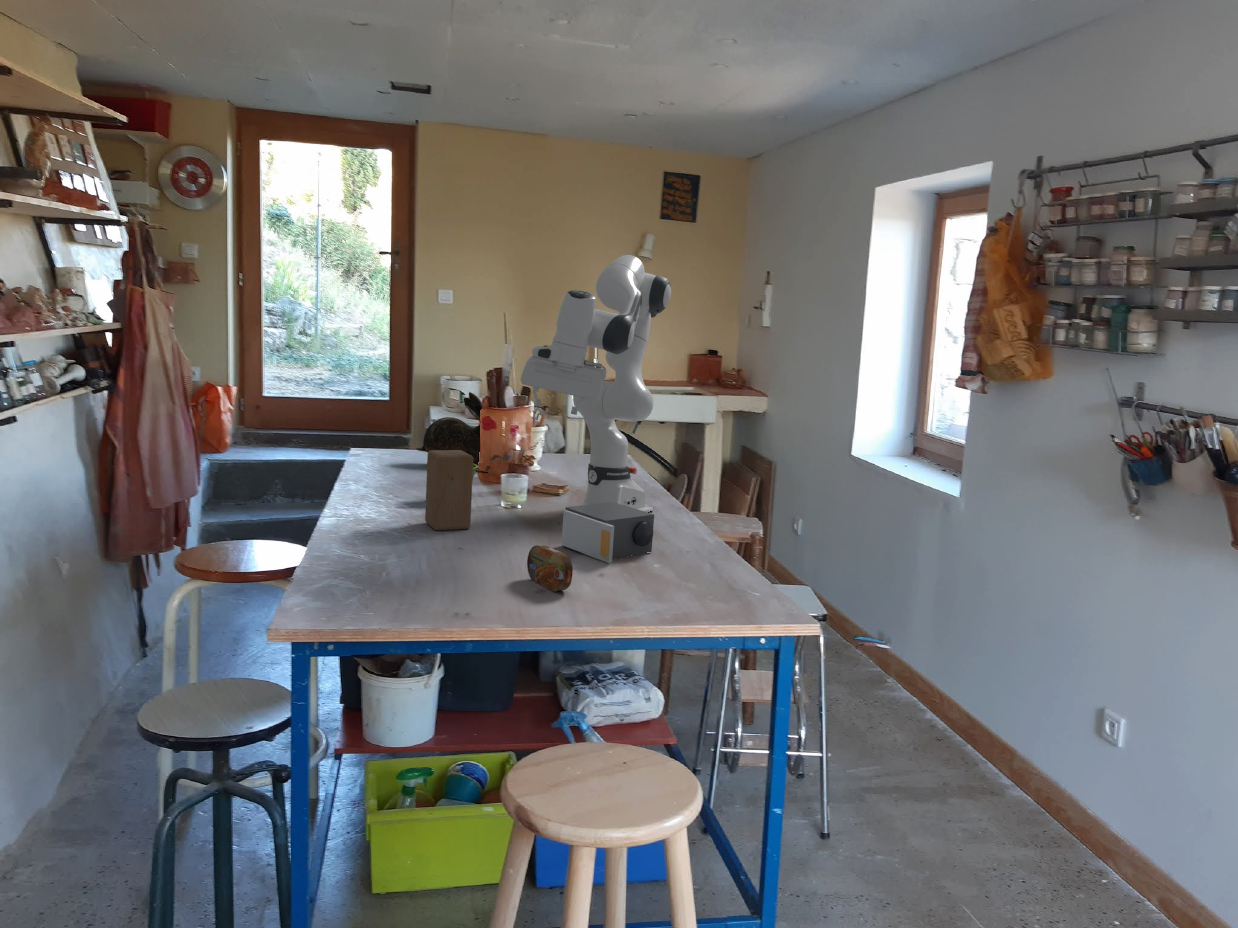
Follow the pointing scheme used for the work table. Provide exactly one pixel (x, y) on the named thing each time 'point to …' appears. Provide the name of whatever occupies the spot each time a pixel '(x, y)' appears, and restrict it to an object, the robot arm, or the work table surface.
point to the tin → (549, 568)
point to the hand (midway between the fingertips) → (555, 410)
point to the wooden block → (449, 489)
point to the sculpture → (455, 432)
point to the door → (588, 536)
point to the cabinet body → (622, 526)
